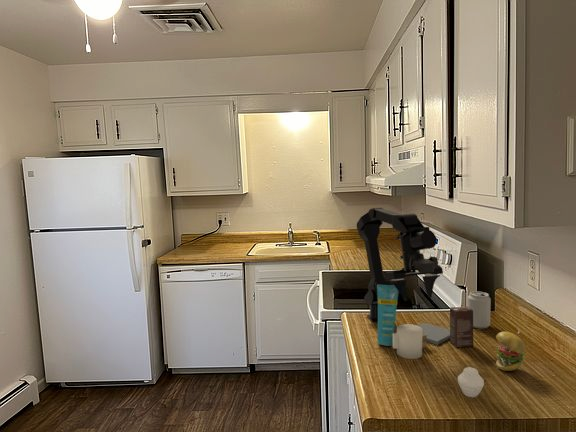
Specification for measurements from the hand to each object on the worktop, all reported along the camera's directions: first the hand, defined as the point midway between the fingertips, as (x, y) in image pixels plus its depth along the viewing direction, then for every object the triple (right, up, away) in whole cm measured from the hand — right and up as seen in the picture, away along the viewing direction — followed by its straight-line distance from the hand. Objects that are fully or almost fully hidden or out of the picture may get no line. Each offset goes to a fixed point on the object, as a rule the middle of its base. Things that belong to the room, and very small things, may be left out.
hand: (418, 299), depth 134 cm
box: (+14, -15, 0) cm, 20 cm away
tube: (-11, -15, 0) cm, 18 cm away
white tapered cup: (-5, -16, -6) cm, 17 cm away
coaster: (+7, -14, +8) cm, 17 cm away
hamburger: (+20, -16, -18) cm, 31 cm away
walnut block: (0, -15, 0) cm, 15 cm away
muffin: (+4, -18, -30) cm, 35 cm away
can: (+27, -13, +15) cm, 33 cm away
